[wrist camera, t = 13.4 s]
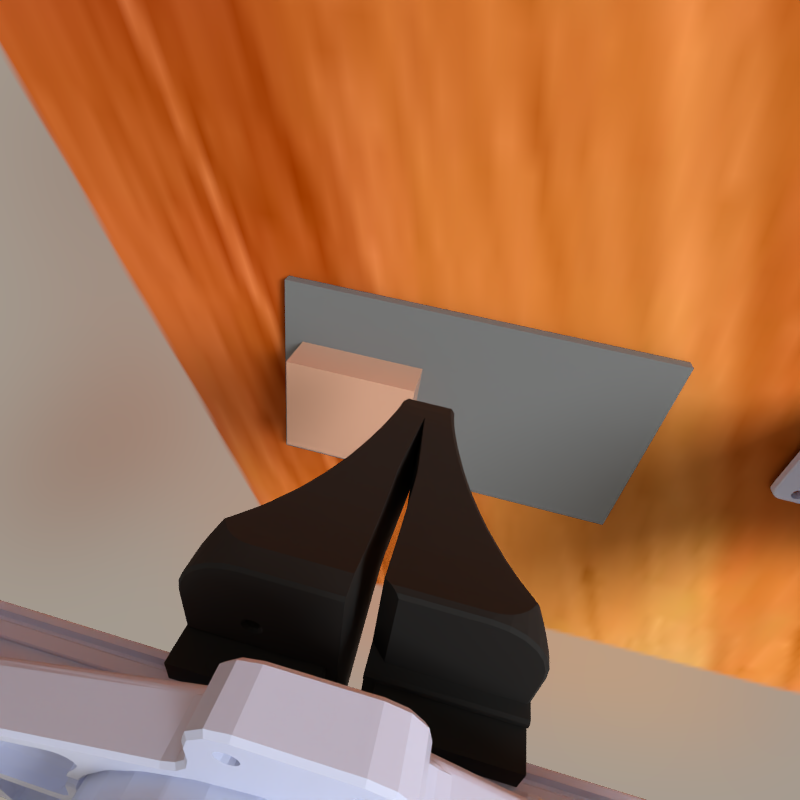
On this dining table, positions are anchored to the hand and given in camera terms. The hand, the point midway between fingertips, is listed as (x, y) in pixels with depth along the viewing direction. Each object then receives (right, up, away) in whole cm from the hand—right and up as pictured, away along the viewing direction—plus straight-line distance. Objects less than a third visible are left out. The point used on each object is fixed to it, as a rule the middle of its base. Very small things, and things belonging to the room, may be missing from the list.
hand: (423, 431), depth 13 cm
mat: (+2, +1, +11) cm, 11 cm away
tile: (0, 0, +10) cm, 10 cm away
